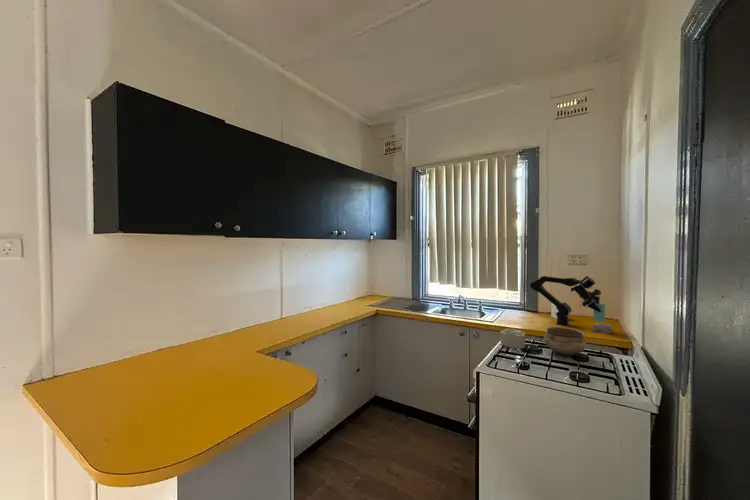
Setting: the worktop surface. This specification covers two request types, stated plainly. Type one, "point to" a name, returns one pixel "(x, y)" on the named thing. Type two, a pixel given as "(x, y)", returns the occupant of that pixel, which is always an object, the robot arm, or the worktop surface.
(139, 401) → the worktop surface
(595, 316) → the teal pillar block
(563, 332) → the cooking pot
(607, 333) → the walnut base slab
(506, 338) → the lumpy-topped squat cylinder
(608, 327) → the charcoal top slab
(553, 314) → the light bulb box
